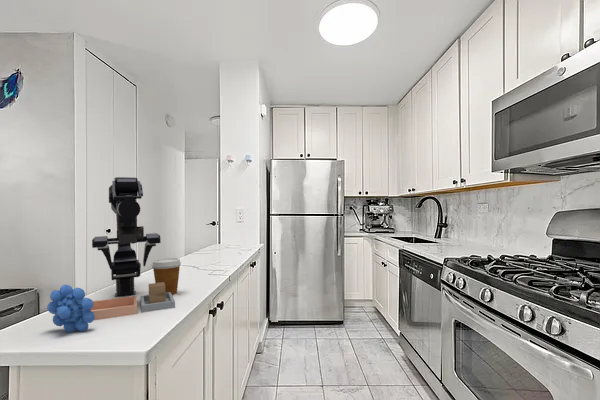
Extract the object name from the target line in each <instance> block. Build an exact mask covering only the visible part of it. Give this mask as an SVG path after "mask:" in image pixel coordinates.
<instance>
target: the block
mask: <svg viewBox="0 0 600 400" xmlns="http://www.w3.org/2000/svg"><path fill="white" fill-rule="evenodd" d="M148 295H149V304H153V303H160V302H166V295H165V283H164V282H161V283H155V282H154V283H148Z"/></svg>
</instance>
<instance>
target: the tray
mask: <svg viewBox="0 0 600 400" xmlns="http://www.w3.org/2000/svg"><path fill="white" fill-rule="evenodd" d="M165 295H166V302H160V303H153V304H149V294H147V295H140V307H141V309H140V310H141V313H148V312H154V311H162V310H168V309H175V308H176V301H175V298H174V296H173V295H172V294H171V292H168V293H165Z"/></svg>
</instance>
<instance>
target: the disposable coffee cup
mask: <svg viewBox="0 0 600 400" xmlns="http://www.w3.org/2000/svg"><path fill="white" fill-rule="evenodd" d="M181 264H182V261H181V260H180V258H177V257H176V258H175V257H174V258H171V257H170V258H169V257H167V258H162V259H161V258H159V259H155V260H153V261H152V264H151V268H152V269H153V277H154V281H155V282H154V283H161V282H164V283H165V293H168V292H171V294H172V296H173V295H177V294H178V286H179V285H178V284H179V277H180V267H181Z"/></svg>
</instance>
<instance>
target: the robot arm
mask: <svg viewBox="0 0 600 400" xmlns="http://www.w3.org/2000/svg"><path fill="white" fill-rule="evenodd" d="M111 183H112V184H111V185H110V186H109V187H108V203H109V204H110V209H111V211H112V212H113V213H114V214H115V217H116V219H115V220H116V237H109V236H108V235H106V236H105V235H101V236H94V237H93V238H92V239H91V243H92V244H91V246H92V249H95V248H96V250H97V251H101V252H102V253H103V256H104V257H105V259H106V262H107V264H108V267H109V269H110V275H111V277H110V278H111V281H115V293H114V298H123V297H131V296H137V293H136V292H137V291H136V290H135V278H139V277H141V265H142V264H143V265H142V266H143V267H146V265H147V261H148V258H149V255H150V252H151V251H152V248H154V247H156V246H157V244H161V235H160V234H159V233H156V232H153V233H145V231H144V229H145V228H144V225H143V226H142V225H141V226H140V225H139V226H138V216H139V214H140V213H141V206H140V204H139V202H137V199H139V200H141V199H142V197H144V192H143V191H144V190H143V185H142V183H141V181H140V180H138V178H137V177H129V176H127V177H125V176H123V177H121V176H118V177H117V176H116V177H114V179H113V180H112V182H111ZM136 243H144V250H143V260H142V261H143V263H142V264H141V262H140V260H139V259H138V258H137V252H136V250H135V249H133V248H132V247H131V245H133V244H136ZM110 245H117V250H115V252H114V254H113V260H112V255H111V251H110Z"/></svg>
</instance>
